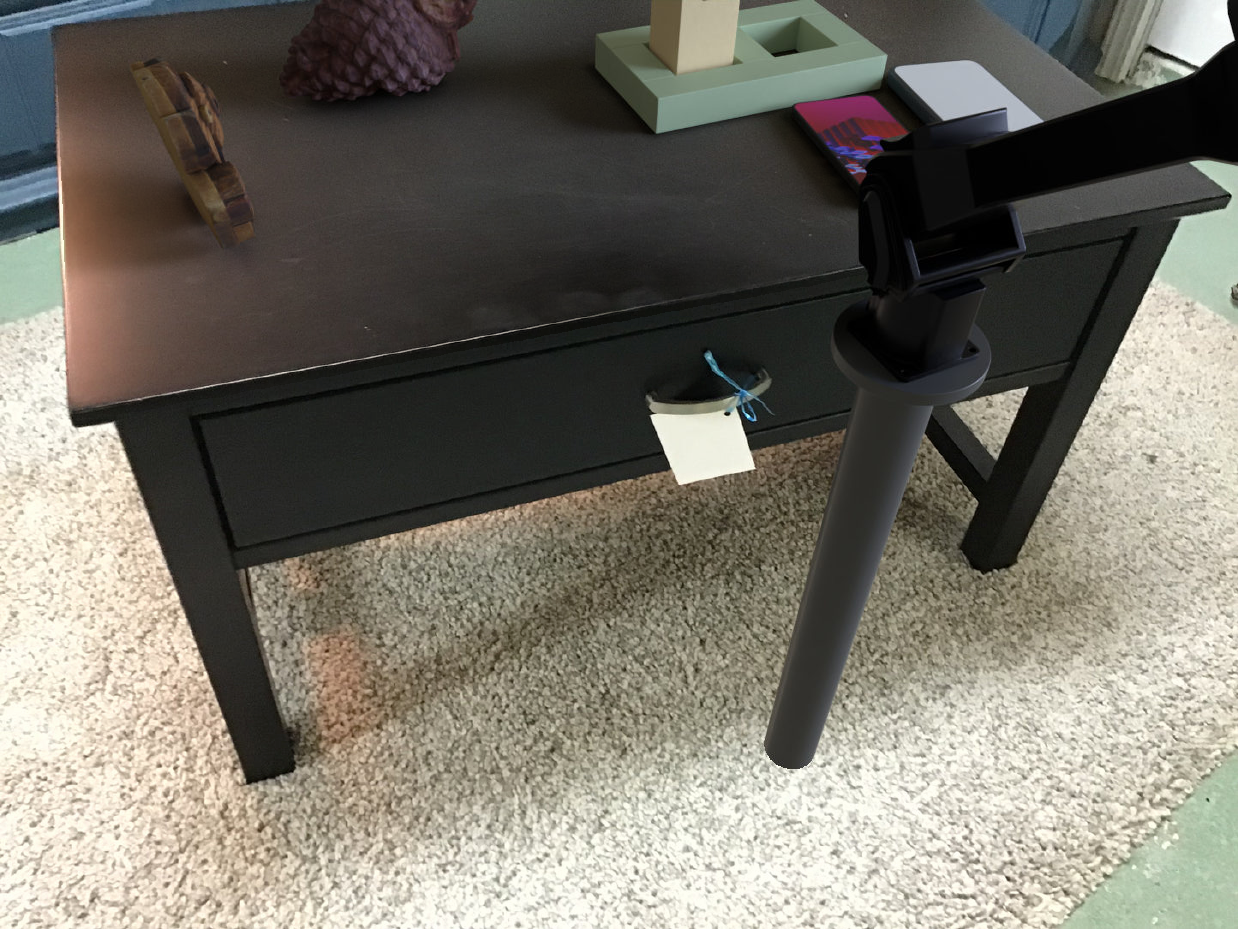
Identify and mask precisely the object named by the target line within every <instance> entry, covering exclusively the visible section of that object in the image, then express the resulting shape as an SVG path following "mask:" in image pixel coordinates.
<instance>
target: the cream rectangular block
mask: <svg viewBox="0 0 1238 929" xmlns="http://www.w3.org/2000/svg"><path fill="white" fill-rule="evenodd" d="M740 1H741V0H706V1H703V0H651V6H650V24H649V25H650V42H649V51H650V52H651V53H652V54H653V55H654V56H655V57H657V58H658V59H659V60H660V61H661V62H662V63H663V64H664V65H665V66H666V67H667V68H668V69H669V70H670V71H671V72H672V73H673V74H674V75H675V76H677V75H682V74H688V73H693V72H699V71H704V70H710V69H715V68H720V67H726V66H731V65H732V64H733V55H734V47H735V38H736V29H737V20H738V11H739V10H740V3H741V2H740Z"/></svg>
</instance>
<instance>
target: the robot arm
mask: <svg viewBox="0 0 1238 929" xmlns="http://www.w3.org/2000/svg"><path fill="white" fill-rule="evenodd" d="M703 1H706V0H703ZM1226 9H1227V11H1226V12H1227V17H1228V21H1229V25H1230V28H1231V32H1232V35H1233V38H1234V40H1232V41H1231V42H1228V43H1227V44H1225V45H1224V46H1222V47H1221V48H1220V49H1219V50H1218V51H1216V52H1215V53H1214V54H1213V55H1212V56H1211V57H1210V58H1209V59H1208V60H1207V61H1205V62H1204V63H1203V64H1202V65H1201V66H1200V67H1198V68H1197V69H1196V70H1195V71H1192V72H1191V73H1189V74H1188V75H1185V76H1183V77H1181V78H1177V79H1174V80H1171V81H1167V82H1165V83H1161V84H1158V85H1156V86H1152V87H1149V88H1146V89H1142V90H1139V91H1136V92H1133V93H1130V94H1127V95H1124V96H1120V97H1117V98H1114V99H1111V100H1108V101H1105V102H1101V103H1098V104H1095V105H1092V106H1089V107H1086V108H1083V109H1080V110H1077V111H1073V112H1070V113H1067V114H1063V115H1061V116H1058V117H1055V118H1051V119H1049V120H1044V121H1045V122H1041V123H1038V124H1035V125H1032V126H1029V127H1026V128H1023V129H1019V130H1016V131H1013V132H1012V131H1008V119H1007V108H1006V107H1004V108H1000V109H995V110H991V111H986V112H981V113H977V114H972V115H968V116H963V117H959V118H954V119H949V120H945V121H940V122H936V123H931V124H927V125H926V124H923V125H921V126H920V127H917V128H916V129H913V130H911V131H909V132H910V133H908V134H903V135H899V136H894V137H890V138H885V139H881V140H880V145H881V147H882V149H883V150H884V152H880V153H877V154H875V155H874V156H873V157H871V158H870V160H869V161H868V162H867V164H866V166H865V171H866V172H867V174H866V177H865V178H864V179H863V180H862V182H861V185H860V188H859V192H858V194H857V207H858V208H857V220H858V221H857V231H858V232H857V233H858V236H857V237H858V247H857V248H858V262H859V264H860V265H861V266H863V268H865V270H867V279H866V283H868V284H869V285H870V291H871V292H872V294H871V296H868V297H867V298H868V301H867V304H866V308H865V310H866V311H867V312H868V313H867V315H864V316H861V317H858V318H854V319H851V320H849V321H848V323H847V327H846V328H847V330H848V331H849V332H850V333H851V334H852V335H853V336H854V337H855V338H856V339H857V340H858V341H859V342H860V343H861V344H862V345H863V346H864V347H865V348H866V349H867V350H868V351H869V352H870V353H871V354H872V355H873V356H874V357H875V358H876V359H877V360H878V361H879V362H880V363H881V364H882V365H883V366H884V367H885V368H886V369H887V370H888V371H889V372H890V373H891V374H892V375H893V376H894V377H895V378H896V379H897V380H898V381H900V382H902V383H909V382H912V381H915V380H918V379H920V378H923V377H926V376H929V375H932V374H935V373H938V372H940V371H943V370H946V369H949V368H952V367H955V366H958V365H961V364H963V363H966V362H969V361H972V360H975V359H977V358H978V356H979V353H980V350H979V348H978V347H977V346H975V345H974V344H973V343H972V342H971V341H970V340H969V339H968V338H969V335H970V332H971V329H972V326H973V323H974V324H975V321H976V318H977V315H978V312H979V309H980V307H981V304H982V300H983V298H984V295H985V292H986V289H987V285H986V284H984V283H983V282H982V281H981V279H982V278H986V277H989V276H992V275H996V274H999V273H1002V274H1005V273H1010V272H1012V271H1013V269H1014V268H1016V266H1017V265H1018V264H1019V263H1020V261H1021V260H1022V259H1023V258H1024V257H1025V255H1026V254H1027V247H1026V243H1025V239H1024V236H1023V232H1022V228H1021V223H1020V220H1019V216H1018V212H1017V210H1019V209H1021V207H1022V206H1023V205H1024V204H1025V203H1027V201H1028V200H1030V199H1034V198H1039V197H1043V196H1046V195H1050V194H1051V195H1052V194H1055V193H1056V194H1057V193H1060V192H1065V191H1069V190H1073V189H1077V188H1081V187H1087V186H1091V185H1095V184H1099V183H1103V182H1104V183H1105V182H1109V181H1113V180H1118V179H1121V178H1127V177H1131V176H1135V175H1139V174H1144V173H1148V172H1149V173H1150V172H1153V171H1158V170H1161V169H1162V170H1163V169H1166V168H1170V167H1175V166H1179V165H1184V164H1188V163H1192V162H1200V161H1202V162H1204V161H1205V162H1207V161H1209V162H1216V163H1219V164H1225V165H1229V166H1236V167H1238V0H1226ZM904 375H905V376H904Z"/></svg>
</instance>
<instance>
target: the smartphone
mask: <svg viewBox="0 0 1238 929" xmlns="http://www.w3.org/2000/svg"><path fill="white" fill-rule="evenodd" d="M790 115H791V117H792V118H793V120H795V122H796V123H797V124H798V125H799V126H800V128H801V129H802V130H803V131H804V132H805V133H806V135H807V136H808V137H809V139H811V140H812V142H813V143H814V144H815V145H816V147H817V148H818V149H819V150H820V152H821V153H822V154H823V155H824V156H825V157H826V159H827V160H828V161H829V162H830V163H831V164H832V166H833V167H834V168H835V169H836V170H837V172H838V173H839V174H840V175H841V176H842V178H843V179H844V180H845V182H847V184H848V185H849V186H850V187H851V188H852V190H854V192H855V193H856V194H857V195H858V192H859V188H860V185H861V182H862V180H863V179H864V178H865V177H866V174H867V172H866V171H865V166H866V164H867V162H868V161H869V160H870V158H871V157H873V156H874V155H875V154H877V153H880V152H884V150H883V149H882V147H881V145H880V140H881V139H885V138H890V137H894V136H899V135H903V134H908V133H910V132H911V131H909V130H908V129H907V128H906V127H905V126H904V125H903V124H902V123H901V122H900V121H899V119H897V118H896V117H895V115H894V114H892V113H891V111H890V110H888V109H887V107H885V105H884V104H882V102H881V101H880V100H879V99H878V98H876V97H875V96H874V95H869V94H860V95H853V96H851V95H850V96H841V97H836V98H831V99H825V100H816V101H808V102H799V103H795V104H794V105H793V106H792V107H791V110H790Z"/></svg>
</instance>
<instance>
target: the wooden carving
mask: <svg viewBox="0 0 1238 929" xmlns="http://www.w3.org/2000/svg"><path fill="white" fill-rule="evenodd" d="M129 69H130V73H131V74H132V77H133V78H134V81H135V83H136V86H137V88H138V90H139V91H140V95H141V96H142V98H143V100H144V104H145V109H146V110H147V112H148V115H149V116H150V118H151V119H152V121H153V123H154V125H155V127H156V129H157V131H158V133H159V135H160V138H161V140H162V143H163V145H164V147H165V149H166V152H167V153H168V155H169V157H170V159H171V161H172V164H173V166H174V167H175V170H176V171H177V173H178V175H179V177H180V180H181V181H182V183H183V185H184V186H185V189H186V191H187V192H188V194H189V196H190V198H191V201H192V202H193V204H194V205H195V207H196V209H197V210H198V212H199V214H200V216H201V218H202V219H203V221H204V222H205V223H206V225H208V227H209V229H210V230H211V232H212V234H213V236H214V238H215V239H216V241H217V243H218V244H219V246H220V248H221V249H222V250H223V251H227V250H230V249H233V248H235V247H237V246H240V243H243V242H246V241H248V240H251V239H255V238H256V234H255V231H254V228H253V225H252V222H254V221H255V211H254V210H255V209H254V207H253V203H252V201H251V200H250V197H249V194H248V192H247V190H246V186H245V184H244V181H243V179H242V177H241V174H240V172H239V170H238V169H237V167H236V166H235V165H234V164H233V162H231V161H230V160H227V158H226V157H225V155H224V153H223V148H224V137H225V136H224V135H225V134H224V130H223V126H222V123H221V121H220V116H221V107H220V104H219V102H218V99H217V97H216V95H215V93H214V92H213V90H212V89H211V88H210V87H209V85H207V84H206V83H202V84H201V83H200V82H198V80H196V79H195V78H194V77H193V76H192V75H190V74H189V73H188V72H187V71H185V70H182V71H180V72H178V71H177V70H176V69H175V68H174V67H173V66H172V64H170V63H169V62H167V61H166V60H165V59H164V58H163V57H162V56H156V57H153V58H151V59H149V60H146V61H144V62H142V61H139V60H138V61H135V62H131V63H130V65H129Z"/></svg>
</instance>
